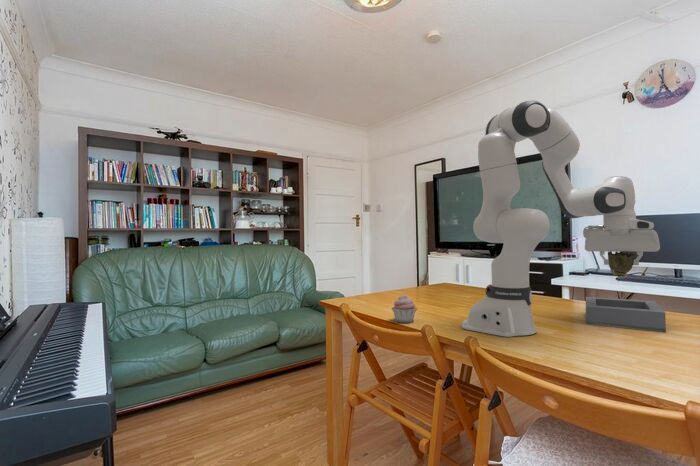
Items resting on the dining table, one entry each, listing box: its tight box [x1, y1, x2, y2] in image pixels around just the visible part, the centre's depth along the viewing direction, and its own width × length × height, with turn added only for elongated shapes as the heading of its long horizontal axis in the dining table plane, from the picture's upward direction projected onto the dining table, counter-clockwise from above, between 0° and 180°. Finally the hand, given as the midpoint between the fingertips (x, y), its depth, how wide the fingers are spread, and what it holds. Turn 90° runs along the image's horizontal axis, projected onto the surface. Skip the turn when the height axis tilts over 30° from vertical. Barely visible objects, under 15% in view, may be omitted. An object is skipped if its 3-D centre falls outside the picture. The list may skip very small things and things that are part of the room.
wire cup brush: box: [607, 251, 636, 278], centre depth 119 cm, size 8×7×8 cm
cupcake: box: [391, 293, 418, 324], centre depth 127 cm, size 9×9×10 cm
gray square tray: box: [585, 296, 667, 333], centre depth 119 cm, size 20×20×6 cm
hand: (620, 264), depth 119 cm, fingers closed on wire cup brush, 7 cm apart
